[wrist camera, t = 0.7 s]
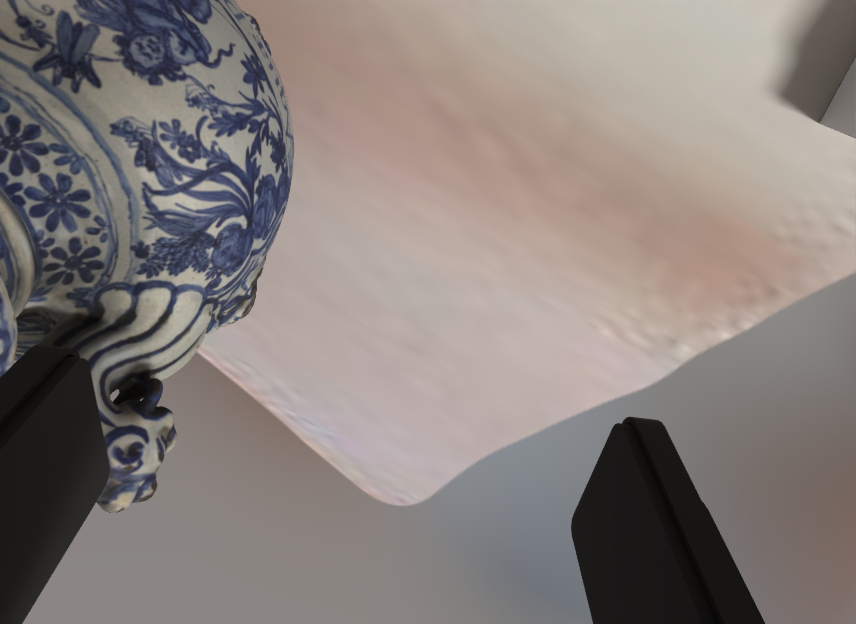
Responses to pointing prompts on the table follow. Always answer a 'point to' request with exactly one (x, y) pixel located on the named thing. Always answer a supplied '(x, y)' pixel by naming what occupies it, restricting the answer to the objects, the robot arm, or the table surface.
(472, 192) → the table surface
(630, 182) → the table surface
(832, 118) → the box
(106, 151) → the decorative vase
